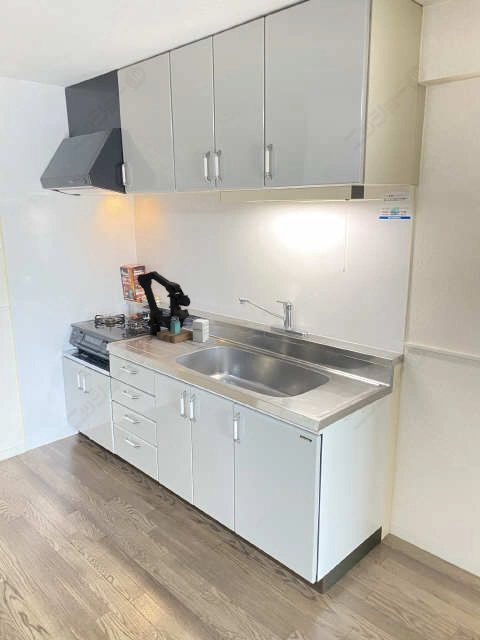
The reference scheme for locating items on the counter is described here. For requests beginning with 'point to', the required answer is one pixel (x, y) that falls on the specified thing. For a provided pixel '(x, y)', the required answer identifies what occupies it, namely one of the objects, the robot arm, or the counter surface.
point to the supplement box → (200, 330)
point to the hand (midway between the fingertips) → (175, 329)
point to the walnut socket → (175, 336)
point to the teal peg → (175, 327)
